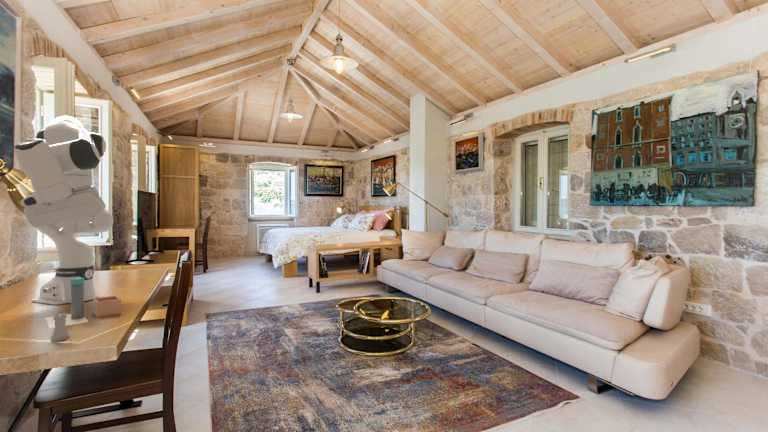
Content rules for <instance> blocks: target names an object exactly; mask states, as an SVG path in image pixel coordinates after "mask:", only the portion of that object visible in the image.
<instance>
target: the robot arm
mask: <svg viewBox="0 0 768 432" xmlns="http://www.w3.org/2000/svg"><path fill="white" fill-rule="evenodd" d="M106 150H107V143H106V141H105V139H104V137H103V135H102V134H99V133H96V132H89V131H88V130H87V129H85V128H84V125H83V124H82V122H81V121H80V120H78V118H75V117H73V116H69V115H62V116H57V117H56V118H54V119H52V120H51V121H49V123H48V124H47V126H46V127H45V128H42V129H41V130H39V131H38V132H37V134H36V136H35V138H32V139H31V138H30V139H26V140H23V141H20V142H18V143H17V144H16V145H14V147H13V151H14V154H15V157H16V159H17V162H18V164H19V166H20V169H21V170H22V172H23V173H24V176H26V177H27V178H28V179H29V181H30V182H31V186H32V188H33V190H34V191H33V192H31V193H29V194H28V195H27V196H25V197H23V198H22V199H21V200H19V204H20V205H21V207H24V208H23V214H24V216H25V218H26V220H27V222H28V224H29V226H31V227H32V228H33V227H34V228H36V229H37V231H38V232H40V233H41V234H43V235H45V236H47V237H48V238H50V239H51V241H52V242H53V243H54V244H55V246H56V248H57V251H58V266H59V267H57V268H55V269H52V270H53V273H55V274H54V276H53V277H52V278H50V279H49V280H48V281H47V282H45V283H44V284H43V285H42V286H41V287H40V289H39V296H37V297H35V298H32V299H31V303H39V304H46V305H55V306H57V305H65V304H71V285H70V279H72V278H84V302H85V301H90V300H93V299H94V298H99V297H98V294H97V290H96V286H95V279H94V273H95V266H94V263H93V260H94V259H93V258H94V257H93V254H94V253H93V248H92V246H91V245H90V244H88V243H85V242H84V241H83V242H82V241H79V240H77V239H76V238H75V237H74V235H84V234H85V235H87V234H88V235H90V234H92V235H93V234H100V233H105V232H108V231H110V230H111V229H112V227H113V225H114V216H113V215H112V213H111V212H110V211H109V210H108V209H106V203H105V202H104V200H103V199H102V197H101V196H100V194H99V192H98V191H99V190H97V187H95V186H93V170H94V169H96V168H97V167H98V165H99V163H100V162H101V158H102V157H103V156H104V155H105V152H106Z"/></svg>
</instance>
